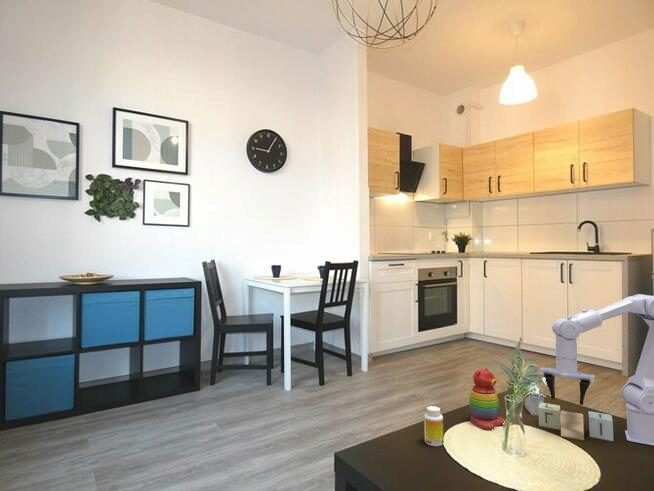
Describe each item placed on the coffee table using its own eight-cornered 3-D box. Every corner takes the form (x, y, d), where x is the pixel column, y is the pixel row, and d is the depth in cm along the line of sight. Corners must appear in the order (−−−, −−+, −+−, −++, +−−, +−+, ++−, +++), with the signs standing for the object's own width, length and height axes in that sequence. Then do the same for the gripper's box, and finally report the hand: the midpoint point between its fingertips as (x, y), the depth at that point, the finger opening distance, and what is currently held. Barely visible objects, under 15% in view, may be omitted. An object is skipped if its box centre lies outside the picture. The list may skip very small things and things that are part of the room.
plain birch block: (583, 433, 124) (583, 414, 124) (584, 440, 119) (583, 420, 119) (561, 429, 127) (561, 410, 127) (561, 436, 122) (560, 416, 122)
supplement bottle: (446, 447, 115) (445, 411, 116) (427, 447, 115) (427, 412, 115) (440, 438, 121) (439, 404, 121) (422, 439, 120) (421, 405, 121)
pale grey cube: (612, 434, 123) (611, 414, 124) (613, 441, 118) (612, 421, 118) (589, 430, 126) (588, 410, 127) (589, 437, 121) (588, 417, 122)
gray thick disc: (544, 416, 138) (543, 391, 138) (531, 415, 139) (530, 390, 139) (537, 408, 146) (536, 384, 146) (524, 407, 146) (523, 384, 147)
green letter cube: (560, 423, 132) (560, 405, 132) (559, 430, 126) (559, 411, 127) (540, 420, 135) (539, 402, 135) (538, 426, 130) (538, 407, 130)
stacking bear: (489, 432, 125) (487, 375, 126) (462, 421, 134) (461, 368, 135) (508, 424, 131) (506, 370, 132) (482, 414, 140) (480, 364, 141)
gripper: (538, 356, 125) (538, 399, 124) (592, 363, 116) (593, 410, 115) (542, 352, 131) (543, 393, 130) (594, 359, 122) (595, 403, 121)
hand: (567, 401), depth 123 cm, fingers open, 7 cm apart
